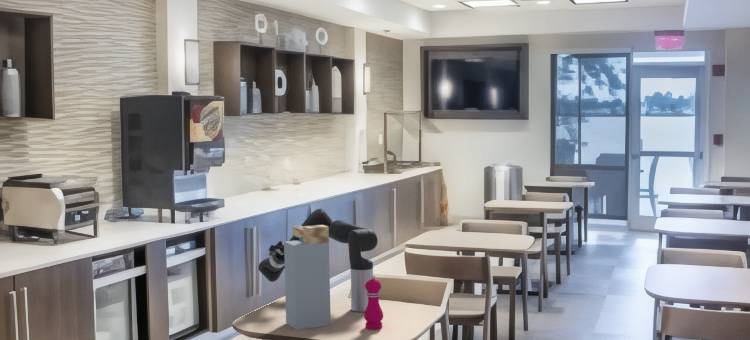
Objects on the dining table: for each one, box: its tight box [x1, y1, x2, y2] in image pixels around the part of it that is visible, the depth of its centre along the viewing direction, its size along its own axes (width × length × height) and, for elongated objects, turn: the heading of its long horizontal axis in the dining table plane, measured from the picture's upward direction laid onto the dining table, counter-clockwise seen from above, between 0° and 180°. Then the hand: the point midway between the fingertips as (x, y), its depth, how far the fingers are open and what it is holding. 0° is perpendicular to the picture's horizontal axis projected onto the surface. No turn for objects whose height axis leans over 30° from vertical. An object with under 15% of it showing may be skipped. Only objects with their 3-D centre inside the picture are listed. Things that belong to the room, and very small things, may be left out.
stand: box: [283, 237, 332, 331], centre depth 313 cm, size 14×11×33 cm
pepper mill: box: [363, 274, 384, 331], centre depth 307 cm, size 7×7×20 cm
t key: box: [291, 225, 330, 244], centre depth 319 cm, size 8×24×6 cm, turn 26°
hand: (291, 242), depth 336 cm, fingers open, 8 cm apart
